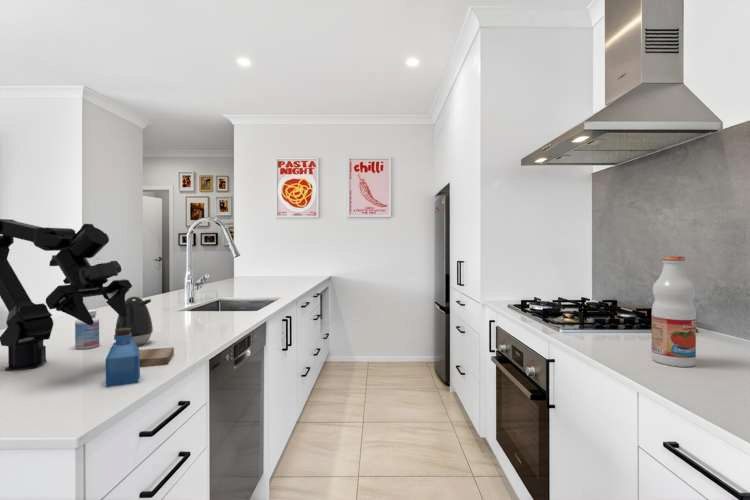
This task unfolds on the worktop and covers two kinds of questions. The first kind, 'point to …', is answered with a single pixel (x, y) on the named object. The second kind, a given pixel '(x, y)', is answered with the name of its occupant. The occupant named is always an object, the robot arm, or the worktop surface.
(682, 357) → the fruit juice
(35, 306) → the robot arm
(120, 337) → the perfume bottle
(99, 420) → the worktop surface
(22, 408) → the worktop surface
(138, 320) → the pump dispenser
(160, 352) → the walnut block
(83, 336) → the pill bottle
